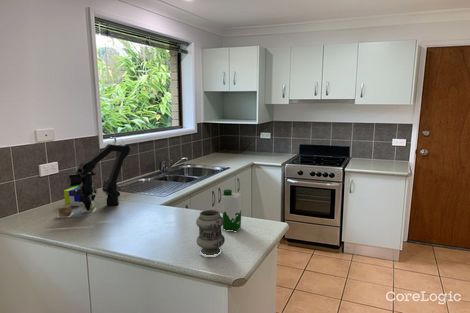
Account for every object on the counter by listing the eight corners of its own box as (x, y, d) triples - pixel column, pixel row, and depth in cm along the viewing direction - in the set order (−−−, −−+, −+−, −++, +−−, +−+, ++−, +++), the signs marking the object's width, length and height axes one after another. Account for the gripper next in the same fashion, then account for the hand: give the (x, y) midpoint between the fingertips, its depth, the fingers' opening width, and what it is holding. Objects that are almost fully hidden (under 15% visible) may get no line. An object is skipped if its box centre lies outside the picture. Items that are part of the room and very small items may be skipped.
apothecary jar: (203, 245, 151) (202, 206, 148) (228, 248, 148) (228, 209, 145) (192, 257, 140) (191, 215, 137) (219, 260, 136) (218, 218, 134)
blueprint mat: (97, 208, 203) (97, 207, 203) (90, 217, 189) (90, 215, 188) (64, 210, 200) (64, 209, 200) (55, 218, 186) (55, 217, 186)
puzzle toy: (79, 207, 207) (78, 191, 205) (65, 206, 209) (63, 190, 207) (89, 202, 216) (88, 187, 215) (75, 201, 218) (74, 186, 217)
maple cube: (94, 208, 201) (94, 200, 201) (92, 211, 197) (92, 203, 196) (86, 209, 201) (85, 200, 200) (83, 211, 196) (83, 203, 195)
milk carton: (226, 224, 176) (226, 187, 173) (243, 227, 173) (243, 189, 170) (220, 231, 168) (219, 192, 165) (237, 233, 165) (237, 194, 161)
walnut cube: (71, 213, 193) (71, 205, 192) (68, 216, 188) (68, 207, 187) (62, 213, 192) (61, 205, 191) (59, 216, 187) (58, 208, 186)
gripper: (77, 180, 204) (79, 205, 206) (67, 188, 186) (69, 215, 188) (96, 179, 206) (98, 204, 208) (88, 187, 187) (90, 214, 190)
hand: (89, 209), depth 199 cm, fingers closed on maple cube, 5 cm apart
